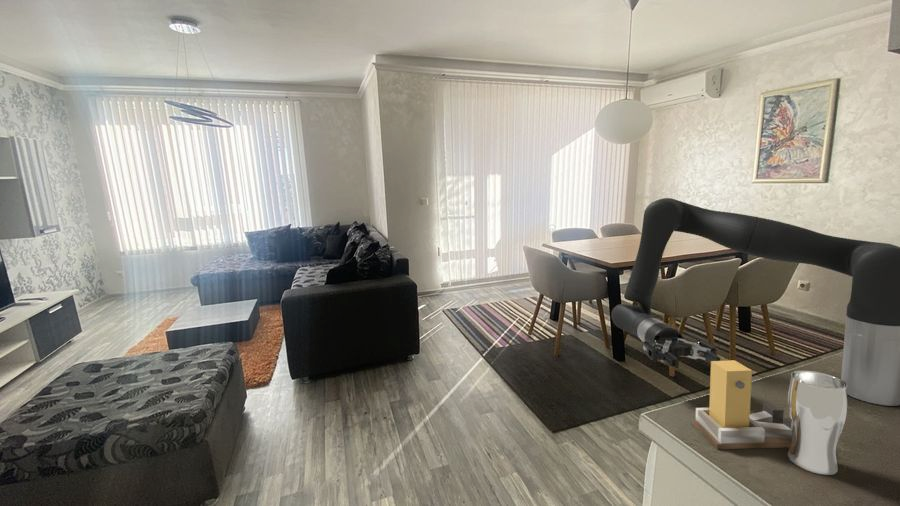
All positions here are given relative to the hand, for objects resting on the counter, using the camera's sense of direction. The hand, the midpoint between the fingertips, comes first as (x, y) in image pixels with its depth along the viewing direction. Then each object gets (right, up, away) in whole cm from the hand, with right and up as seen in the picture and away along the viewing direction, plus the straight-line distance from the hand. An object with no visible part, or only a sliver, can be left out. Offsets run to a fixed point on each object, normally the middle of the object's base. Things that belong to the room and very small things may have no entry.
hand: (697, 363), depth 80 cm
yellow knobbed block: (0, -10, -8) cm, 13 cm away
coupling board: (+4, -11, -9) cm, 15 cm away
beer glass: (+8, -12, -17) cm, 22 cm away
